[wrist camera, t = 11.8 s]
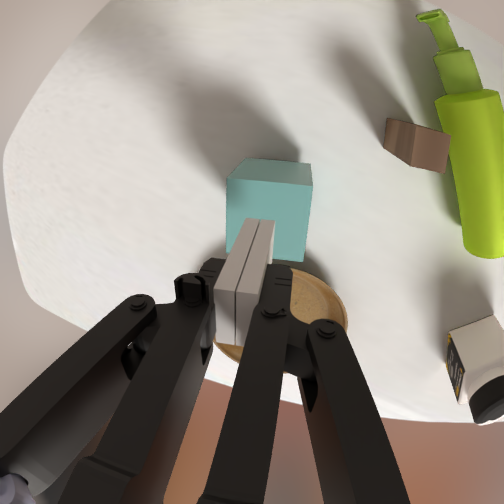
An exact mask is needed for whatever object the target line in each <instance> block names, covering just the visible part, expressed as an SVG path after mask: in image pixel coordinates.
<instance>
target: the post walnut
mask: <svg viewBox="0 0 504 504" xmlns="http://www.w3.org/2000/svg"><path fill="white" fill-rule="evenodd" d="M450 141H451V135H449V134H446V133H443V132H440V131H437V130H433V129H430V128H427V127H423V126H420V125H416V124H412V123H408V122H403V121H399V120H394V119H389V118H387V121H386V130H385V138H384V146H383V148H384V149H386V150H387V151H389V152H390V153H392V154H393V155H395V156H396V157H398V158H399V159H401V160H402V161H404V162H405V163H406V164H408V165H409V166H412V167H417V168H421V169H426V170H430V171H435V172H439V173H443V174H445V170H446V165H447V159H448V153H449V147H450Z"/></svg>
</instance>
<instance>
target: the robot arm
mask: <svg viewBox="0 0 504 504" xmlns="http://www.w3.org/2000/svg"><path fill="white" fill-rule="evenodd" d="M274 231H275V221H274V220H264V219H261V221H260V219H254V218H246V219H245V221H244V223H243V225H242V227H241V229H240V231H239V234H238V236H237V238H236V240H235V242H234V244H233V247H232V249H231V251H230V253H229V255H228V257H227V260H226V259H217V258H211V259H209V260H208V261H206V262H205V263H204V264H203V266H202V267H201V269H200V271H199V273H188V274H183V275H181V276H179V277H177V278H176V279H175V280H174V285H175V293H176V300H175V302H173V303H168V304H155V301H154V299H153V298H152V297H151V296H149V295H145V294H136V295H133V296H130V297H128V298H127V299H125V300H124V301H123V302H122V303H121V304H119V305H118V306H117V307H116V308H115V309H114V310H112V311H111V312H110V313H109V314H108V315H107V316H105V317H104V318H103V319H102V320H101V321H100V322H98V323H97V324H96V325H95V326H94V327H93V328H92V329H90V330H89V331H88V332H87V333H86V334H85V335H84V336H82V337H81V338H80V339H79V340H78V341H77V342H76V343H75V344H74V345H72V346H71V347H70V348H69V349H68V350H67V351H66V352H65V353H63V354H62V355H61V356H60V357H59V358H58V359H57V360H56V361H55V362H54V363H53V364H51V365H50V366H49V367H48V368H47V369H46V370H45V371H44V372H43V373H42V374H41V375H40V376H39V377H37V378H36V379H35V380H34V381H33V382H32V383H31V384H30V385H29V386H28V387H27V388H26V389H25V390H24V391H23V392H22V393H21V394H20V395H18V396H17V397H16V398H15V399H14V400H13V401H12V402H11V403H10V404H9V405H8V406H7V407H6V408H5V409H4V410H3V411H2V412H1V413H0V504H36V503H35V501H34V500H33V498H32V497H34V496H36V495H38V494H40V493H41V492H43V491H44V490H45V489H47V488H48V487H49V486H50V485H51V484H52V483H53V482H54V481H55V480H56V479H57V478H58V477H59V476H60V475H61V474H62V472H63V471H64V470H65V469H66V468H67V467H68V466H69V464H70V463H71V462H72V461H73V460H74V459H75V458H76V456H77V455H78V454H79V453H80V452H81V451H82V449H83V448H84V447H85V446H86V445H87V444H88V442H89V441H90V440H91V439H92V438H93V437H94V436H95V434H96V433H97V432H98V431H99V430H100V429H101V427H102V426H103V425H104V424H105V423H106V422H107V421H108V419H109V418H110V417H111V416H112V415H113V414H114V415H113V417H112V419H111V421H110V423H109V425H108V427H107V429H106V431H105V433H104V435H103V437H102V439H101V441H100V443H99V445H98V447H97V449H96V451H95V453H94V454H93V455H91V456H88V457H84V458H82V459H81V460H80V461H79V462H78V463H77V465H76V466H75V468H74V470H73V472H72V474H71V476H70V478H69V480H68V482H67V485H66V487H65V489H64V491H63V493H62V495H61V498H60V500H59V502H58V504H163V499H164V494H165V491H166V488H167V485H168V482H169V479H170V476H171V473H172V470H173V467H174V465H175V462H176V459H177V456H178V453H179V450H180V446H181V444H182V441H183V438H184V435H185V432H186V429H187V426H188V423H189V420H190V417H191V414H192V411H193V408H194V405H195V402H196V399H197V396H198V393H199V390H200V387H201V385H202V382H203V379H204V376H205V373H206V370H207V367H208V364H209V361H210V358H211V355H212V352H213V339H214V337H215V334H216V342H218V343H224V344H231V345H234V344H235V341H236V345H237V346H244V348H243V352H242V355H241V359H240V363H239V367H238V370H237V374H236V378H235V382H234V385H233V389H232V393H231V397H230V400H229V404H228V408H227V411H226V415H225V419H224V422H223V426H222V430H221V433H220V437H219V440H218V444H217V447H216V451H215V455H214V458H213V462H212V465H211V469H210V472H209V476H208V479H207V483H206V486H205V489H204V492H203V494H202V495H201V497H200V498H199V499H198V502H197V504H263V502H264V496H265V491H266V485H267V479H268V473H269V467H270V461H271V455H272V449H273V443H274V436H275V429H276V423H277V415H278V408H279V402H280V394H281V387H282V379H283V371H285V372H287V373H290V374H292V375H295V376H297V380H298V385H299V389H300V394H301V398H302V403H303V407H304V412H305V416H306V421H307V425H308V430H309V434H310V439H311V444H312V448H313V453H314V458H315V462H316V467H317V471H318V476H319V481H320V486H321V491H322V496H323V501H324V504H410V501H409V498H408V494H407V491H406V488H405V485H404V482H403V479H402V476H401V473H400V470H399V467H398V465H397V462H396V459H395V456H394V453H393V451H392V448H391V445H390V442H389V440H388V437H387V434H386V431H385V429H384V426H383V423H382V421H381V418H380V415H379V413H378V410H377V407H376V405H375V402H374V400H373V397H372V395H371V392H370V390H369V387H368V385H367V382H366V380H365V377H364V375H363V372H362V370H361V367H360V365H359V363H358V360H357V358H356V355H355V353H354V351H353V348H352V346H351V344H350V341H349V339H348V337H347V334H346V332H345V330H344V328H343V327H342V326H341V325H340V324H339V323H338V322H336V321H333V320H331V319H317V320H314V321H313V322H311V323H310V324H308V323H305V322H302V321H300V320H298V319H297V318H296V317H294V315H293V314H292V313H291V310H290V303H291V292H292V280H293V272H292V270H291V268H290V267H289V266H285V265H276V264H272V256H273V244H274ZM131 342H132V343H131ZM130 343H131V344H130ZM129 344H130V345H129ZM128 345H129V346H128Z"/></svg>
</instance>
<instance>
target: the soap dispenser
mask: <svg viewBox="0 0 504 504" xmlns="http://www.w3.org/2000/svg"><path fill="white" fill-rule="evenodd" d="M416 18H417V19H418V21H419V22H425V23H426V24H428V25H429V27H430V29H431V31H432V34H433V36H434V38H435V40H436V42H437V45H438V47H439V49H440V51H439V52H437V56H434V57H433V60H434V62H435V65H436V67H437V70H438V72H439V75H440V78H441V81H442V83H443V86H444V89H445V92H446V94H447V95H444V96H442V97H440V98H438V99H437V100H435V101H434V103H435V107H436V110H437V113H438V116H439V119H440V123H441V126H442V130H443V133H446V134H449V135H451V141H450V147H449V157H450V161H451V166H452V171H453V175H454V181H455V186H456V191H457V197H458V204H459V210H460V217H461V225H462V234H463V243H464V247H465V248H466V250H467V251H468V252H469V253H471V254H473V255H475V256H477V257H480V258H486V259H494V258H500V257H504V111H503V107H502V103H501V99H500V96H499V93H498V92H497V91H494V90H489V89H483V86H482V83H481V80H480V76H479V74H478V71H477V68H476V65H475V62H474V59H473V57H472V54H471V52H470V50H464V48H463V47H459V46H458V44H457V42H456V39H455V37H454V35H453V32H452V30H451V28H450V26H449V24H448V22H450V21H449V19H448V17H447V15H446V14H445V13H444V12H443V11H442V10H441V9H436V10H432V11H428V12H424V13H421V14H417V15H416Z"/></svg>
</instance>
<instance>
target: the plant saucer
mask: <svg viewBox="0 0 504 504" xmlns="http://www.w3.org/2000/svg"><path fill="white" fill-rule="evenodd" d="M291 270H292V272H293V280H292V292H291V303H290V310H291V313H292V314H293V315H294V317H296V318H297V319H298V320H300V321H302V322H305V323H308V324H310V323H311V322H313V321H314V320H317V319H331V320H333V321H336V322H338V323H339V324H340V325H341V326H342V327H343V328H344V330H345V332H346V333H347V327H348V320H347V313H346V310H345V307H344V305H343V303H342V301H341V299H340V298H339V296H338V295H337V294H336V293H335V292H334V290H333V289H332V288H330V287H329V286H328V285H327V284H326V283H325V282H323V281H322V280H320V279H319V278H317V277H315V276H313V275H311V274H309V273H307V272H304V271H301V270H297V269H293V268H291ZM213 342H214V343H215V345H216V346H217V347H218V348H219V349H220V350H221V351H222V352H223V353H224V354H225V355H227V356H228V357H229V358H231V359H232V360H234V361H235V362H237V363H240V359H241V355H242V352H243V348H244V346H237V345H236V341H235V344H234V345H231V344H224V343H218V342H216V334H215V337H214V339H213ZM283 373H287V372H285V371H283Z"/></svg>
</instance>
